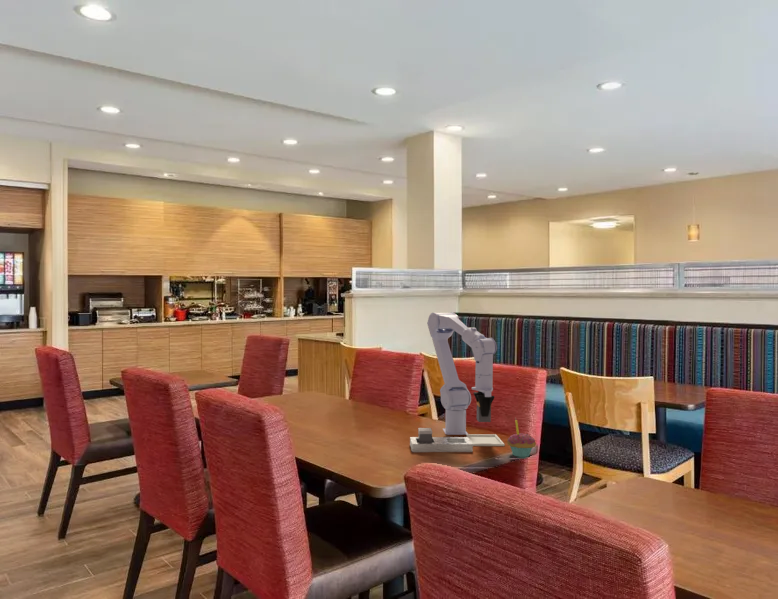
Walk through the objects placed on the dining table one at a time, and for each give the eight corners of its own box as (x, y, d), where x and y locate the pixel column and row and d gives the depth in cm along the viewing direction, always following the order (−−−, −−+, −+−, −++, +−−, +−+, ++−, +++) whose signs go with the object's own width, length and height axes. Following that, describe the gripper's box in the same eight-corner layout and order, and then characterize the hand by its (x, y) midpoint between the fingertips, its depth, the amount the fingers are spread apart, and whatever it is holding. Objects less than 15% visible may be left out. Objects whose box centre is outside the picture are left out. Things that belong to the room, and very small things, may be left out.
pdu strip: (409, 446, 199) (410, 437, 199) (467, 446, 200) (468, 437, 200) (411, 453, 190) (411, 444, 190) (472, 453, 191) (472, 444, 191)
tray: (466, 437, 211) (466, 434, 211) (496, 437, 212) (496, 434, 212) (472, 447, 198) (472, 444, 198) (504, 447, 198) (504, 444, 198)
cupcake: (514, 461, 183) (515, 421, 183) (502, 453, 191) (502, 415, 191) (540, 459, 185) (541, 419, 185) (527, 452, 193) (527, 414, 193)
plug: (476, 419, 206) (476, 401, 206) (488, 419, 206) (488, 401, 206) (478, 422, 202) (478, 403, 202) (490, 422, 202) (491, 403, 202)
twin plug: (418, 446, 197) (418, 427, 197) (430, 446, 197) (430, 427, 197) (419, 449, 193) (419, 430, 193) (432, 450, 193) (432, 430, 193)
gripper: (468, 371, 211) (467, 410, 211) (476, 377, 197) (475, 419, 197) (488, 371, 211) (488, 410, 212) (497, 377, 197) (497, 419, 197)
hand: (483, 415), depth 204 cm, fingers closed on plug, 4 cm apart
